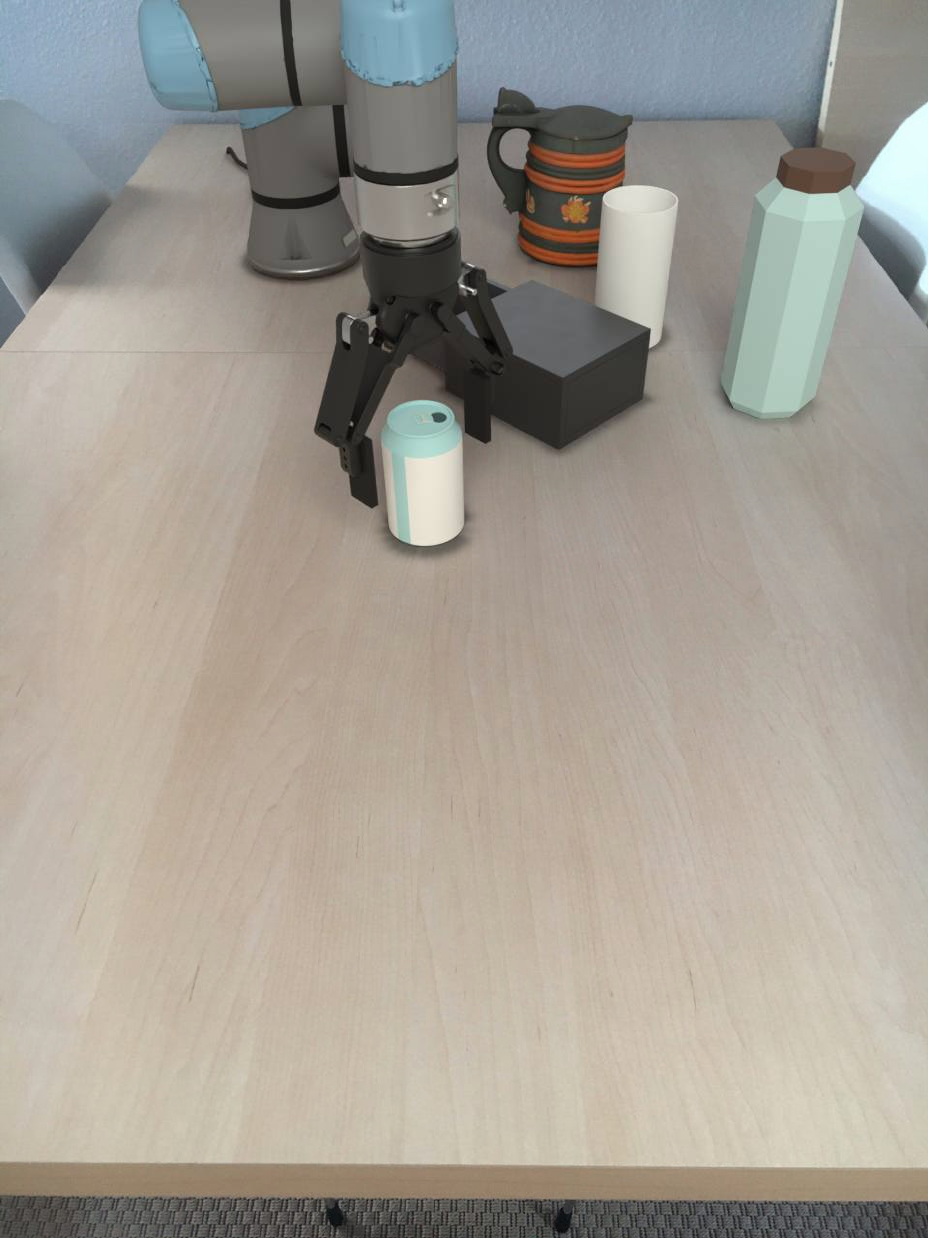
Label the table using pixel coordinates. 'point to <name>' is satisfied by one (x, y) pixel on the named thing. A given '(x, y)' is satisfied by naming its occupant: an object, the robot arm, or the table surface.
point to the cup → (636, 254)
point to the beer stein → (559, 174)
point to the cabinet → (559, 363)
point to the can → (423, 473)
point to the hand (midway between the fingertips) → (423, 467)
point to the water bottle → (791, 282)
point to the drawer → (437, 350)
